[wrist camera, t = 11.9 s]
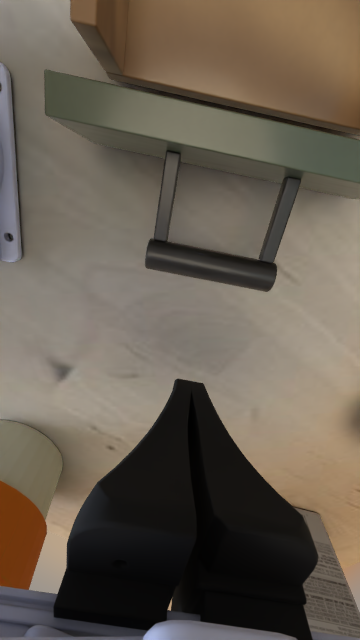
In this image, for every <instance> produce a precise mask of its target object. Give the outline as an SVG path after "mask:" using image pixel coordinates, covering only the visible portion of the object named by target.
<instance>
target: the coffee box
mask: <svg viewBox="0 0 360 640" xmlns="http://www.w3.org/2000/svg"><path fill="white" fill-rule="evenodd" d="M295 509H296V510H297V511H298V512H299V513H300V514H301V515H302V516H303V517H304V520H305V522H306V524H307V526H308V529H309V531H310V533H311V536H312V539H313V541H314V544H315V547H316V550H317V553H318V563H317V565H316V567H315V569H314V571H313V572H312V573H311V574H310V576H309V577H308V578H307V579H306V581H305V582H304V583H303V588H304V592H305V595H306V599H307V603H306V604H305V605H303V606H304V609H305V613H306V617H307V620H308V624H309V628H310V631H314V632H321V633H328V634H334V635H341V636H348V637H355V638H360V612H359V610H358V608H357V605H356V603H355V600H354V598H353V595H352V593H351V590H350V588H349V586H348V583H347V581H346V578H345V576H344V573H343V571H342V568H341V566H340V563H339V561H338V558H337V556H336V554H335V551H334V549H333V546H332V544H331V541H330V539H329V537H328V534H327V532H326V529H325V527H324V524H323V522H322V519H321V517H320V515H319V514H318V513H314V512H310V511H306V510H302V509H298V508H295Z"/></svg>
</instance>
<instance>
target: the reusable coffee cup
mask: <svg viewBox="0 0 360 640" xmlns="http://www.w3.org/2000/svg"><path fill="white" fill-rule="evenodd" d="M62 469H63V461H62V457H61V454H60V452H59V450H58V448H57V447H56V446H55V445H54V444H53V442H52V441H51V440H49V439H48V438H47V437H46V436H45V435H43V434H42V433H40V432H39V431H37V430H35V429H33V428H31V427H29V426H27V425H24V424H21V423H18V422H13V421H7V420H0V586H4V587H11V588H18V589H25V590H29V587H30V584H31V580H32V577H33V574H34V571H35V568H36V565H37V562H38V558H39V555H40V552H41V549H42V546H43V543H44V540H45V537H46V534H47V525H46V522H45V519H46V516H47V513H48V510H49V507H50V504H51V501H52V498H53V495H54V492H55V489H56V486H57V483H58V480H59V477H60V475H61V472H62Z"/></svg>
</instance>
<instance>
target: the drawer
mask: <svg viewBox="0 0 360 640" xmlns="http://www.w3.org/2000/svg"><path fill="white" fill-rule="evenodd" d="M70 19H71V21H72V23H73V24H74V26H75V27H76V29H77V30H78V32H79V33H80V35H81V36H82V38H83V39H84V41H85V42H86V44H87V45H88V47H89V48H90V50H91V51H92V53H93V54H94V56H95V57H96V59H97V60H98V62H99V63H100V65H101V66H102V68H103V69H104V70H105V71H106V73H107V75H108V76H109V78H110V79H111V80H116V81H120V82H125V83H129V84H133V85H138V86H142V87H147V88H151V89H156V90H160V91H165V92H169V93H173V94H178V95H182V96H187V97H191V98H196V99H200V100H204V101H209V102H213V103H218V104H222V105H227V106H231V107H235V108H240V109H244V110H249V111H253V112H258V113H262V114H267V115H271V116H275V117H280V118H284V119H289V120H293V121H298V122H302V123H306V124H311V125H315V126H320V127H324V128H329V129H333V130H337V131H342V132H346V133H351V134H355V135H360V0H71V6H70ZM44 78H45V114H46V116H48V117H50V118H51V119H53V120H55V121H57V122H58V123H60V124H62V125H63V126H65V127H67V128H69V129H70V130H72V131H74V132H76V133H77V134H79V135H81V136H82V137H84V138H86V139H88V140H89V141H91V142H93V143H95V144H99V145H104V146H109V147H113V148H118V149H123V150H127V151H132V152H137V153H141V154H146V155H151V156H155V157H160V158H165V163H164V170H163V177H162V184H161V191H160V198H159V205H158V212H157V219H156V226H155V233H154V239H153V238H150V240H149V242H148V246H147V251H146V258H145V267H146V268H148V269H153V270H158V271H163V272H168V273H173V274H178V275H183V276H189V277H194V278H199V279H204V280H209V281H214V282H219V283H224V284H229V285H234V286H240V287H245V288H250V289H255V290H260V291H265V292H268V291H270V290H271V288H272V287H273V285H274V282H275V279H276V275H277V266H276V264H275V263H273V262H274V260H275V257H276V254H277V251H278V248H279V245H280V242H281V239H282V236H283V233H284V230H285V227H286V224H287V221H288V218H289V216H290V213H291V210H292V207H293V204H294V201H295V198H296V195H297V192H298V189H299V187H300V188H304V189H309V190H314V191H318V192H323V193H328V194H332V195H337V196H342V197H346V198H351V199H360V140H358V139H354V138H349V137H345V136H340V135H336V134H331V133H327V132H322V131H318V130H314V129H309V128H305V127H300V126H296V125H291V124H287V123H282V122H278V121H273V120H269V119H265V118H260V117H256V116H251V115H247V114H242V113H238V112H233V111H229V110H225V109H220V108H216V107H211V106H207V105H202V104H198V103H193V102H189V101H184V100H180V99H176V98H171V97H167V96H162V95H158V94H153V93H149V92H144V91H140V90H136V89H131V88H127V87H122V86H118V85H113V84H109V83H104V82H100V81H96V80H91V79H87V78H82V77H78V76H73V75H69V74H64V73H60V72H55V71H51V70H47V69H46V70H45V71H44ZM180 162H183V163H188V164H193V165H197V166H202V167H207V168H211V169H216V170H221V171H225V172H230V173H234V174H239V175H244V176H248V177H253V178H258V179H262V180H267V181H272V182H276V183H281V184H282V185H281V188H280V192H279V195H278V198H277V201H276V204H275V207H274V211H273V214H272V217H271V220H270V223H269V227H268V230H267V233H266V236H265V239H264V243H263V246H262V249H261V252H260V255H259V259H260V260H258V259H253V258H248V257H243V256H238V255H233V254H228V253H223V252H218V251H213V250H208V249H203V248H198V247H193V246H188V245H183V244H178V243H173V242H168V241H167V239H168V234H169V228H170V222H171V216H172V210H173V204H174V198H175V192H176V185H177V179H178V173H179V167H180Z"/></svg>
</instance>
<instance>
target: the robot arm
mask: <svg viewBox="0 0 360 640" xmlns="http://www.w3.org/2000/svg"><path fill="white" fill-rule="evenodd" d="M0 83H1V85H2V91H1V92H0V260H2V261H7V262H16V261H19V260H20V259H21V257H22V251H21V235H20V219H19V203H18V187H17V171H16V155H15V139H14V123H13V107H12V91H11V77H10V73H9V71H8V69H7V67H6V66H5V65H4V64H3V63H1V62H0ZM9 233H11V235H12V236H13V241H12V240H10V238H9V236H8V234H9ZM317 563H318V553H317V550H316V547H315V544H314V541H313V539H312V536H311V533H310V531H309V529H308V526H307V524H306V522H305V520H304V517H303V516H302V515H301V514H300V513H299V512H298V511H297V510H296V509H295V508H294V507H292V506H291V505H290V504H289V503H288V502H287V501H286V500H285V499H284V498H282V497H281V496H280V495H279V494H278V493H277V492H276V491H275V490H274V489H273V488H272V487H271V486H270V485H269V484H268V483H267V482H266V481H265V479H264V478H263V477H262V476H261V475H260V474H259V473H258V472H257V470H256V469H255V468H254V467H253V466H252V465H251V463H250V462H249V461H248V460H247V459H246V457H245V456H244V455H243V454H242V452H241V451H240V449H239V448H238V447H237V445H236V444H235V442H234V441H233V439H232V438H231V436H230V435H229V433H228V432H227V430H226V428H225V427H224V425H223V423H222V421H221V420H220V418H219V416H218V414H217V412H216V410H215V408H214V406H213V404H212V402H211V400H210V398H209V395H208V393H207V391H206V388H205V386H204V384H203V383H199V382H193V381H188V380H182V379H176V380H175V382H174V386H173V391H172V393H171V395H170V398H169V400H168V402H167V403H166V405H165V407H164V409H163V411H162V412H161V414H160V415H159V417H158V419H157V420H156V422H155V423H154V425H153V426H152V427H151V429H150V430H149V431H148V433H147V434H146V435H145V436H144V438H143V439H142V440H141V441H140V442H139V444H138V445H137V446H136V447H135V448H134V449H133V450H132V451H131V452H130V453H129V454H128V455H127V456H126V457H125V458H124V459H123V460H122V461H121V462H120V463H119V464H118V465H117V466H116V467H115V468H114V469H113V470H111V471H110V472H109V473H108V474H107V475H106V476H104V477H103V478H102V479H101V480H100V481H99V482H97V484H96V485H95V487H94V488H93V490H92V491H91V493H90V494H89V496H88V497H87V499H86V500H85V502H84V504H83V505H82V507H81V509H80V511H79V513H78V515H77V517H76V519H75V522H74V524H73V527H72V530H71V533H70V536H69V539H68V542H67V568H66V571H65V575H64V577H63V580H62V583H61V586H60V589H59V592H58V594H52V593H45V592H38V591H32V590H25V589H18V588H11V587H4V586H0V640H360V638H355V637H348V636H341V635H334V634H328V633H321V632H314V631H310V628H309V624H308V620H307V617H306V613H305V609H304V606H303V605H305V604H306V603H307V599H306V595H305V592H304V588H303V583H304V582H305V581H306V579H307V578H308V577H309V576H310V574H311V573H312V572H313V571H314V569H315V567H316V565H317ZM171 599H172V606H171V611H169V610H167V609H168V607H169V604H170V601H171Z"/></svg>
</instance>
